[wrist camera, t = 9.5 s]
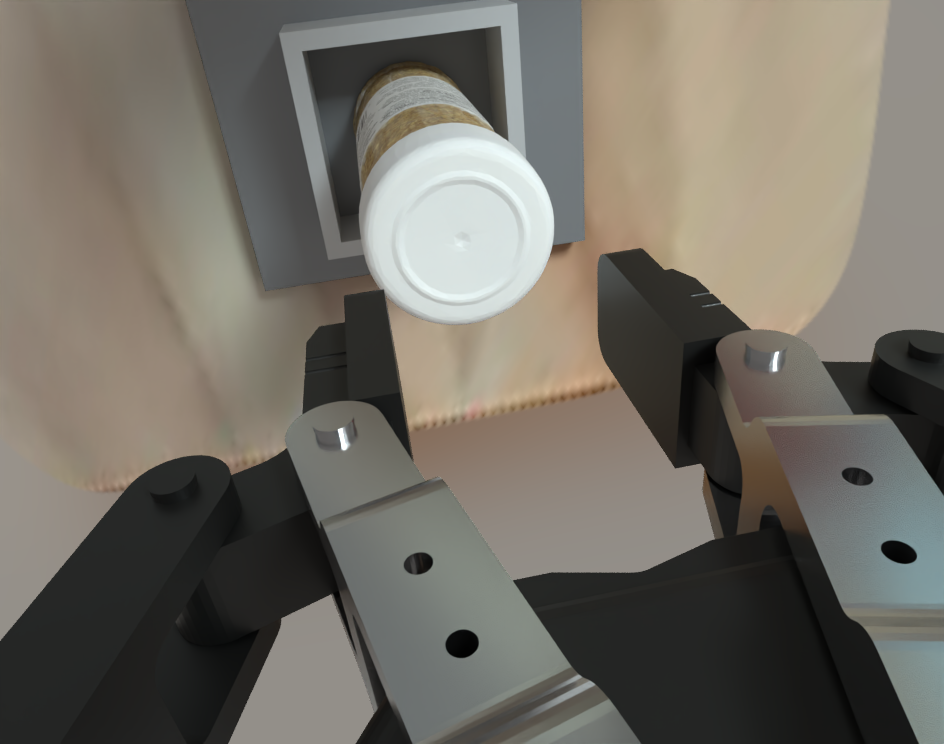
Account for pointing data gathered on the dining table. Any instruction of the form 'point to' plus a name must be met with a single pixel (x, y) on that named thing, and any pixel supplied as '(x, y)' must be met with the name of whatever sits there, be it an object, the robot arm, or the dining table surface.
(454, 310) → the sprinkles bottle
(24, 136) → the dining table surface
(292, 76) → the bottle stand
